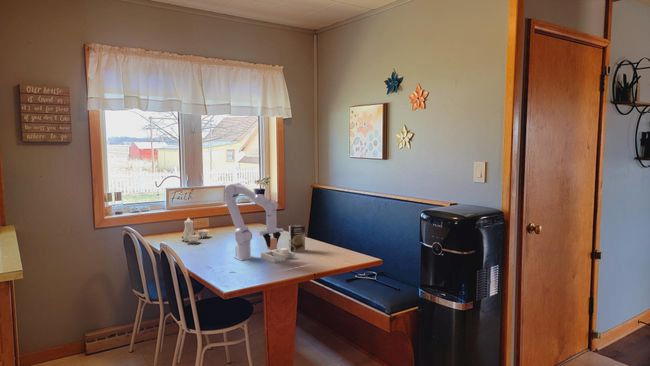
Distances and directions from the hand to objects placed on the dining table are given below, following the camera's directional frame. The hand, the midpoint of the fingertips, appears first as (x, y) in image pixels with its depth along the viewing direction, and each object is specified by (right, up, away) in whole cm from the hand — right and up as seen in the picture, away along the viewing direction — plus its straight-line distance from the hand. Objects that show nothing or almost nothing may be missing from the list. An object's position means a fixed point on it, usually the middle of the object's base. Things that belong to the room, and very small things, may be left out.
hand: (272, 246), depth 247 cm
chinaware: (-61, -4, +56) cm, 83 cm away
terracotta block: (0, -2, 0) cm, 2 cm away
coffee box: (+13, -7, +22) cm, 27 cm away
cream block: (+6, -7, +6) cm, 11 cm away
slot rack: (+3, -8, +4) cm, 10 cm away
